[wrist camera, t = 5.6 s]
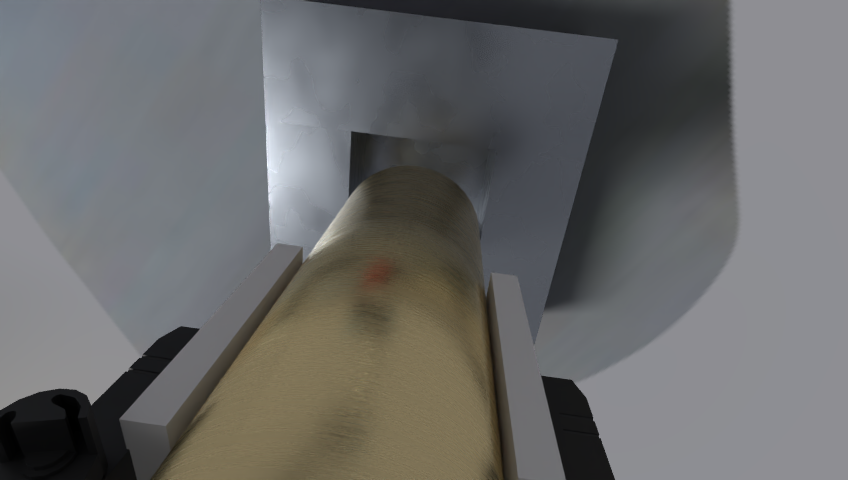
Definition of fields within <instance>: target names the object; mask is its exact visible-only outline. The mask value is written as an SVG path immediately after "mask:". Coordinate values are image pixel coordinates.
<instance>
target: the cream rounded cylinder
mask: <svg viewBox="0 0 848 480" xmlns="http://www.w3.org/2000/svg"><path fill="white" fill-rule="evenodd" d="M150 480H504V477H503V466H502V456H501V446H500V436H499V426H498V416H497V406H496V396H495V385H494V375H493V365H492V355H491V345H490V335H489V325H488V315H487V304H486V294H485V284H484V274H483V264H482V254H481V244H480V234H479V224H478V219H477V215H476V212H475V209H474V207H473V205H472V203H471V201H470V199H469V198H468V196H467V195H466V193H465V192H464V191H463V190H462V189H461V188H460V187H459V186H458V185H457V184H456V183H455V182H454V181H452V180H451V179H449V178H448V177H446V176H445V175H443V174H441V173H439V172H437V171H434V170H431V169H428V168H424V167H419V166H396V167H391V168H387V169H384V170H381V171H379V172H377V173H375V174H373V175H371V176H370V177H368V178H367V179H365V180H364V181H363V182H362V183H361V184H360V185H359V186H358V187H357V188H356V189H355V190H354V192H353V193H352V194H351V196H350V197H349V199H348V200H347V202H346V203H345V204H344V206H343V207H342V209H341V210H340V211H339V213H338V214H337V216H336V217H335V219H334V220H333V221H332V223H331V224H330V226H329V227H328V228H327V230H326V231H325V233H324V234H323V236H322V237H321V238H320V240H319V241H318V243H317V244H316V245H315V247H314V248H313V250H312V251H311V253H310V254H309V255H308V257H307V258H306V260H305V261H304V262H303V264H302V265H301V267H300V268H299V270H298V271H297V272H296V274H295V275H294V277H293V278H292V279H291V281H290V282H289V284H288V285H287V287H286V288H285V289H284V291H283V292H282V294H281V295H280V296H279V298H278V299H277V301H276V302H275V304H274V305H273V306H272V308H271V309H270V311H269V312H268V313H267V315H266V316H265V318H264V319H263V321H262V322H261V323H260V325H259V326H258V328H257V329H256V330H255V332H254V333H253V335H252V336H251V338H250V339H249V340H248V342H247V343H246V345H245V346H244V347H243V349H242V350H241V352H240V353H239V355H238V356H237V357H236V359H235V360H234V362H233V363H232V364H231V366H230V367H229V369H228V370H227V372H226V373H225V374H224V376H223V377H222V379H221V380H220V381H219V383H218V384H217V386H216V387H215V389H214V390H213V391H212V393H211V394H210V396H209V397H208V398H207V400H206V401H205V403H204V404H203V406H202V407H201V408H200V410H199V411H198V413H197V414H196V415H195V417H194V418H193V420H192V421H191V423H190V424H189V425H188V427H187V428H186V430H185V431H184V432H183V434H182V435H181V437H180V438H179V440H178V441H177V442H176V444H175V445H174V447H173V448H172V449H171V451H170V452H169V454H168V455H167V457H166V458H165V459H164V461H163V462H162V464H161V465H160V467H159V468H158V469H157V471H156V472H155V474H154V475H153V476H152V478H151V479H150Z"/></svg>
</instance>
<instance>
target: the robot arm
mask: <svg viewBox="0 0 848 480" xmlns="http://www.w3.org/2000/svg"><path fill="white" fill-rule="evenodd" d="M302 264H303V247H302V246H295V245H287V244H280V243H277V244H276V245H275V246H274V248H273V249H272V250H271V251H270V252H269V253H268V254H267V255H266V256H265V258H264V259H263V260H262V261H261V262H260V263H259V264H258V265H257V266H256V268H255V269H254V270H253V271H252V272H251V273H250V274H249V275H248V276H247V278H246V279H245V280H244V281H243V282H242V283H241V284H240V285H239V286H238V288H237V289H236V290H235V291H234V292H233V293H232V294H231V295H230V296H229V298H228V299H227V300H226V301H225V302H224V303H223V304H222V305H221V306H220V308H219V309H218V310H217V311H216V312H215V313H214V314H213V315H212V316H211V318H210V319H209V320H208V321H207V322H206V323H205V324H204V325H203V327H202V328H201V329H197V328H190V327H182V326H181V327H179V328H177V329H175V330H173V331H172V332H170V333H168V334H166V335H165V336H163V337H161V338H159V339H158V340H157V341H156V342H155V343H154V344H153V345H152V346H151V347H150V348H149V349H148V350H147V351H146V352H145V353H144V354H143V356H142V358H139V359H138V360H137V361H136V362H135V363H134V364H133V365H132V366H131V367H130V368H129V371H128V372H125V373H124V374H123V375H122V376H121V377H120V378H119V379H118V380H117V381H116V382H115V383H114V384H113V385H112V386H111V387H110V388H109V389H108V390H107V391H106V392H105V393H104V394H102V395H101V397H99V398H98V399H97V400H96V401H95V402H94V403H93V404H92V405H91V404H90V402H89V400H88V397H87V395H85V394H83V393H81V392H79V391H77V390H69V389H55V390H49V391H43V392H39V393H36V394H33V395H31V396H28V397H25V398H22V399H19V400H18V401H16V402H14V403H12V404H10V405H9V406H7V407H5V408H4V409H2V410H0V480H150V479H151V478H152V476H153V475H154V474H155V472H156V471H157V469H158V468H159V467H160V465H161V464H162V462H163V461H164V459H165V458H166V457H167V455H168V454H169V452H170V451H171V449H172V448H173V447H174V445H175V444H176V442H177V441H178V440H179V438H180V437H181V435H182V434H183V432H184V431H185V430H186V428H187V427H188V425H189V424H190V423H191V421H192V420H193V418H194V417H195V415H196V414H197V413H198V411H199V410H200V408H201V407H202V406H203V404H204V403H205V401H206V400H207V398H208V397H209V396H210V394H211V393H212V391H213V390H214V389H215V387H216V386H217V384H218V383H219V381H220V380H221V379H222V377H223V376H224V374H225V373H226V372H227V370H228V369H229V367H230V366H231V364H232V363H233V362H234V360H235V359H236V357H237V356H238V355H239V353H240V352H241V350H242V349H243V347H244V346H245V345H246V343H247V342H248V340H249V339H250V338H251V336H252V335H253V333H254V332H255V330H256V329H257V328H258V326H259V325H260V323H261V322H262V321H263V319H264V318H265V316H266V315H267V313H268V312H269V311H270V309H271V308H272V306H273V305H274V304H275V302H276V301H277V299H278V298H279V296H280V295H281V294H282V292H283V291H284V289H285V288H286V287H287V285H288V284H289V282H290V281H291V279H292V278H293V277H294V275H295V274H296V272H297V271H298V270H299V268H300V267H301V265H302ZM486 304H487V315H488V325H489V335H490V345H491V355H492V365H493V375H494V385H495V396H496V406H497V416H498V426H499V436H500V446H501V456H502V466H503V477H504V480H615V478H614V475H613V473H612V470H611V467H610V464H609V461H608V458H607V456H606V453H605V450H604V447H603V444H602V441H601V439H600V438H599V433H598V430H597V427H596V424H595V422H594V421H593V416H592V413H591V410H590V407H589V404H588V401H587V399H586V397H585V396H584V395H583V393H582V392H581V391H580V390H579V389H578V387H577V386H576V385H575V384H574V382H573V381H572V380H568V379H561V378H554V377H546V376H541V374H540V370H539V365H538V361H537V357H536V353H535V349H534V344H533V340H532V336H531V332H530V328H529V323H528V319H527V315H526V311H525V307H524V303H523V298H522V294H521V290H520V286H519V282H518V277H517V276H515V275H507V274H500V273H493V272H491V276H490V281H489V286H488V291H487V296H486Z"/></svg>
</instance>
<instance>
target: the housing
mask: <svg viewBox="0 0 848 480" xmlns="http://www.w3.org/2000/svg"><path fill="white" fill-rule="evenodd" d="M260 1H261V25H262V49H263V73H264V96H265V120H266V144H267V168H268V192H269V215H270V239H271V250H272V249H273V248H274V246H275V245H276V244H277V243H280V244H287V245H295V246H302V247H303V262H304V261H305V260H306V258H307V257H308V255H309V254H310V253H311V251H312V250H313V248H314V247H315V245H316V244H317V243H318V241H319V240H320V238H321V237H322V236H323V234H324V233H325V231H326V230H327V228H328V227H329V226H330V224H331V223H332V221H333V220H334V219H335V217H336V216H337V214H338V213H339V211H340V210H341V209H342V207H343V206H344V204H345V203H346V202H347V200H348V199H349V197H350V196H351V194H352V193H353V192H354V190H355V189H356V188H357V187H358V186H359V185H360V184H361V183H362V182H363V181H364V180H365V179H367V178H368V177H370V176H371V175H373V174H375V173H377V172H379V171H381V170H384V169H387V168H391V167H396V166H419V167H424V168H428V169H431V170H434V171H437V172H439V173H441V174H443V175H445V176H446V177H448V178H449V179H451V180H452V181H454V182H455V183H456V184H457V185H458V186H459V187H460V188H461V189H462V190H463V191H464V192H465V193H466V195H467V196H468V198H469V199H470V201H471V203H472V205H473V207H474V209H475V212H476V215H477V219H478V224H479V234H480V244H481V254H482V264H483V274H484V284H485V294H486V296H487V291H488V286H489V281H490V276H491V272H493V273H500V274H507V275H515V276H517V277H518V282H519V286H520V290H521V294H522V298H523V303H524V307H525V311H526V315H527V319H528V323H529V328H530V332H531V336H532V340H533V344H535V340H536V336H537V333H538V329H539V326H540V322H541V318H542V315H543V311H544V307H545V304H546V300H547V297H548V293H549V289H550V286H551V282H552V279H553V275H554V271H555V268H556V264H557V260H558V257H559V253H560V250H561V246H562V242H563V239H564V235H565V231H566V228H567V224H568V221H569V217H570V213H571V210H572V206H573V202H574V199H575V195H576V192H577V188H578V184H579V181H580V177H581V173H582V170H583V166H584V163H585V159H586V155H587V152H588V148H589V145H590V141H591V137H592V134H593V130H594V126H595V123H596V119H597V116H598V112H599V108H600V105H601V101H602V97H603V94H604V90H605V87H606V83H607V79H608V76H609V72H610V68H611V65H612V61H613V58H614V54H615V50H616V47H617V43H618V40H617V39H609V38H601V37H593V36H585V35H577V34H569V33H561V32H553V31H545V30H536V29H528V28H520V27H512V26H504V25H496V24H488V23H480V22H472V21H464V20H456V19H448V18H440V17H431V16H423V15H415V14H407V13H399V12H391V11H383V10H375V9H367V8H359V7H351V6H343V5H335V4H326V3H318V2H310V1H302V0H260Z"/></svg>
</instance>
